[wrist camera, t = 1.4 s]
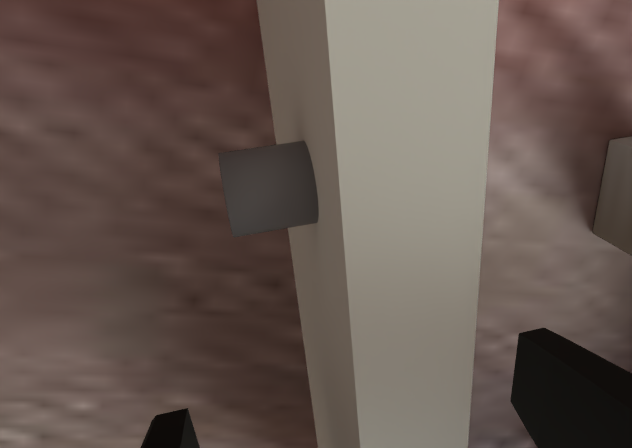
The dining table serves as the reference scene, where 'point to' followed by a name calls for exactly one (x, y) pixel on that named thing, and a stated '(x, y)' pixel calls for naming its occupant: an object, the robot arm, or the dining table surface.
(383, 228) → the door
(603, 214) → the cabinet
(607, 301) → the dining table surface
